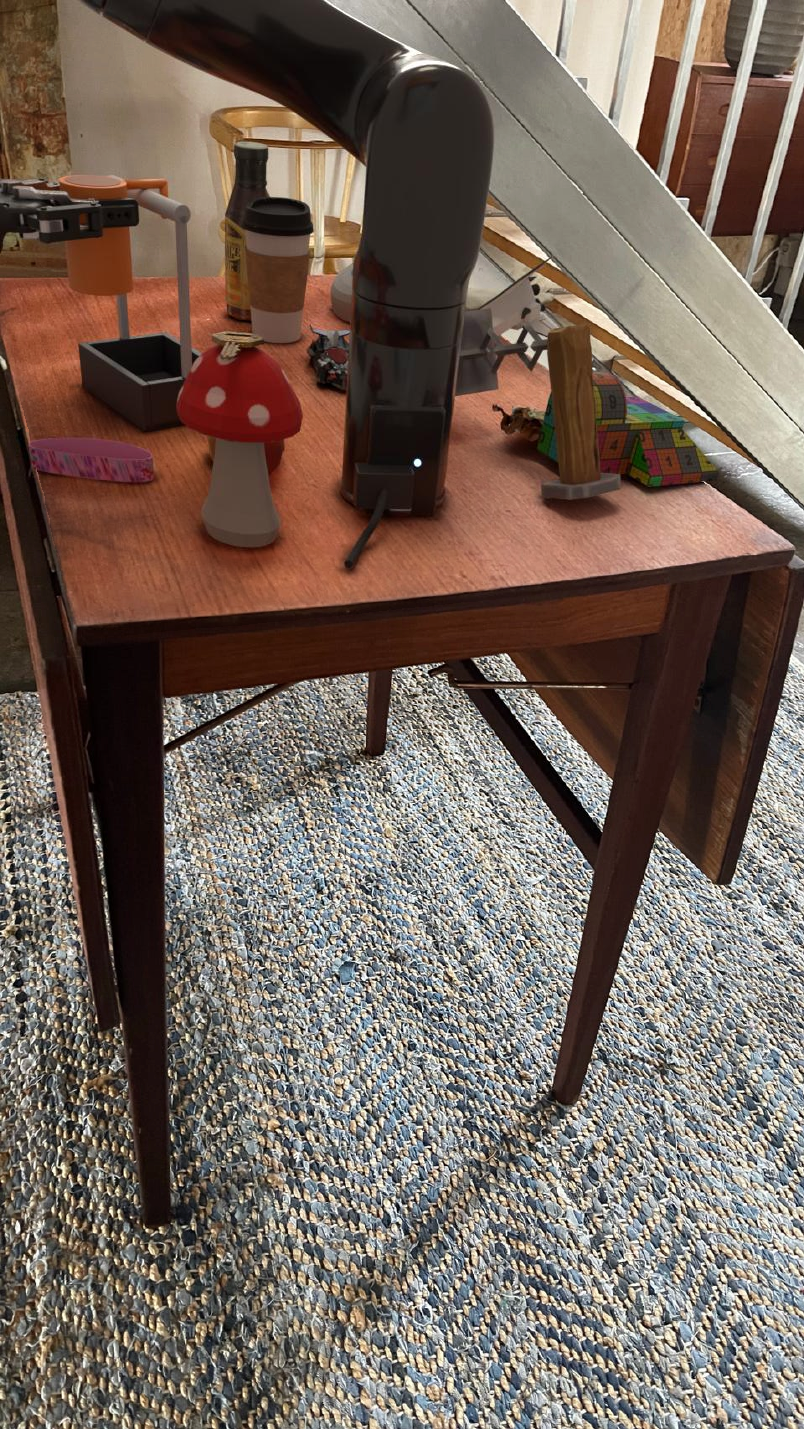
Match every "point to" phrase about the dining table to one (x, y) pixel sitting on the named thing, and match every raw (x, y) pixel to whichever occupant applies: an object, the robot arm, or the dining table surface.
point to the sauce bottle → (245, 189)
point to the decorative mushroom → (240, 438)
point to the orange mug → (103, 238)
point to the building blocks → (636, 439)
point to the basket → (145, 345)
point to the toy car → (330, 357)
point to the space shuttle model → (519, 307)
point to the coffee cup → (277, 265)
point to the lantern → (568, 392)
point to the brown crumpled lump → (522, 421)
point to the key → (235, 342)
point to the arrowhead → (482, 296)
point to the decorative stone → (342, 293)
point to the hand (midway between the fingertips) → (120, 204)
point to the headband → (92, 459)
